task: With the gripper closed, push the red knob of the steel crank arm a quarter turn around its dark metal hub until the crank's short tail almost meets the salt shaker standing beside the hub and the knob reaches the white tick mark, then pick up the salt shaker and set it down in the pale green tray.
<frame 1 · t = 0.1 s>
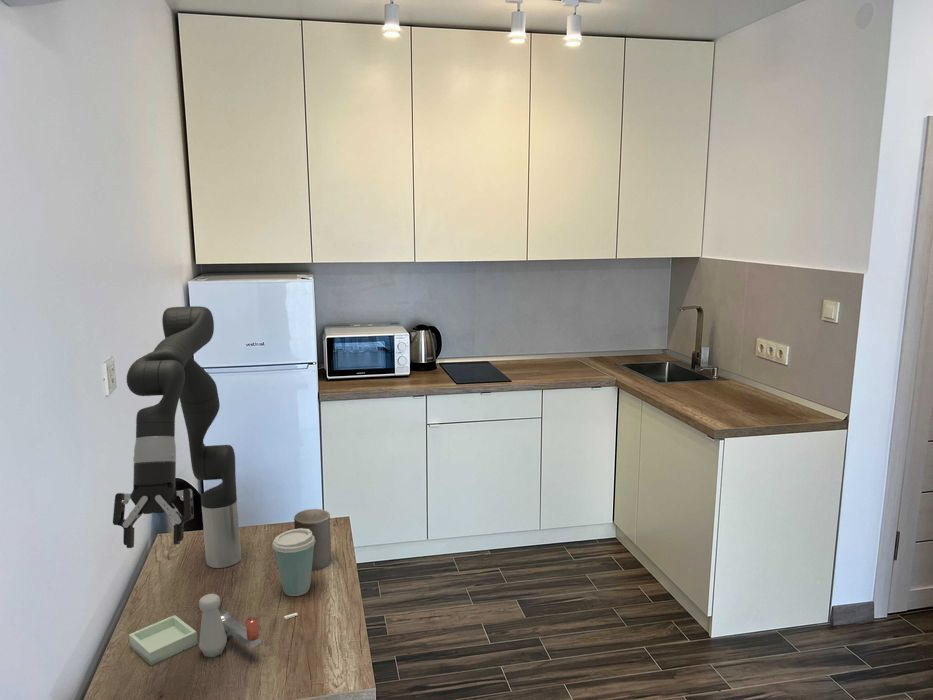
hand: (153, 546, 135), 31 cm above the table, tool tilted 20°, fingers open, 8 cm apart
disposable coffee cup: (296, 590, 179), on the table
tray: (164, 645, 156), on the table
pillar candle: (314, 562, 194), on the table
salt shaker: (213, 652, 154), on the table
crank: (231, 620, 155), point 6 cm above the table, hinge at 0.0°
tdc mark: (291, 617, 167), on the table
crank base: (223, 636, 159), on the table
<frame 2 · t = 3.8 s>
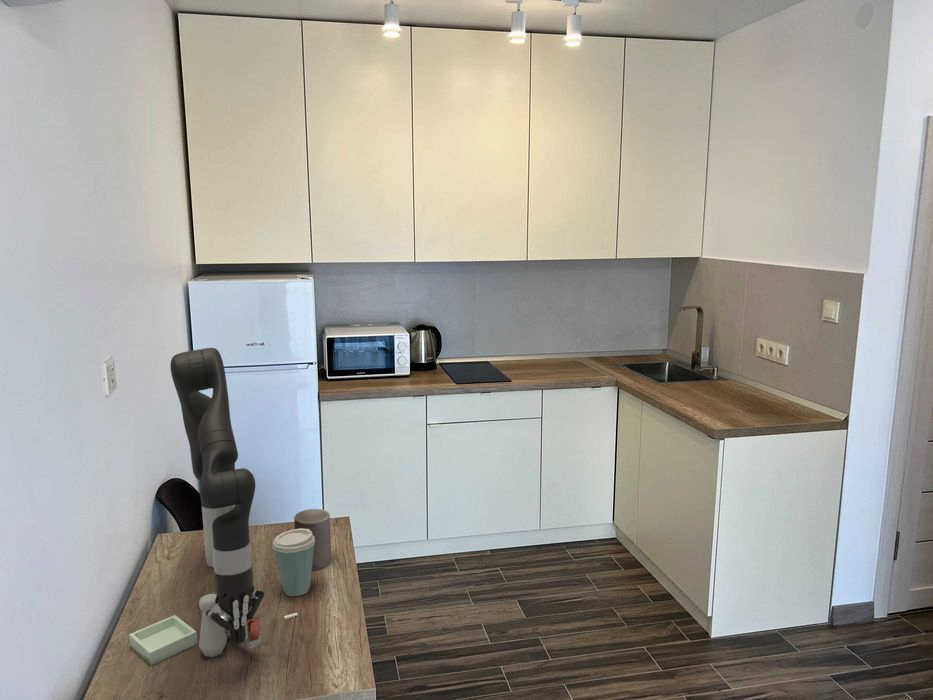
hand: (238, 642, 147), 6 cm above the table, tool pointing down, fingers closed
crank: (231, 620, 155), point 6 cm above the table, hinge at 0.6°, touching gripper
everything else where it was.
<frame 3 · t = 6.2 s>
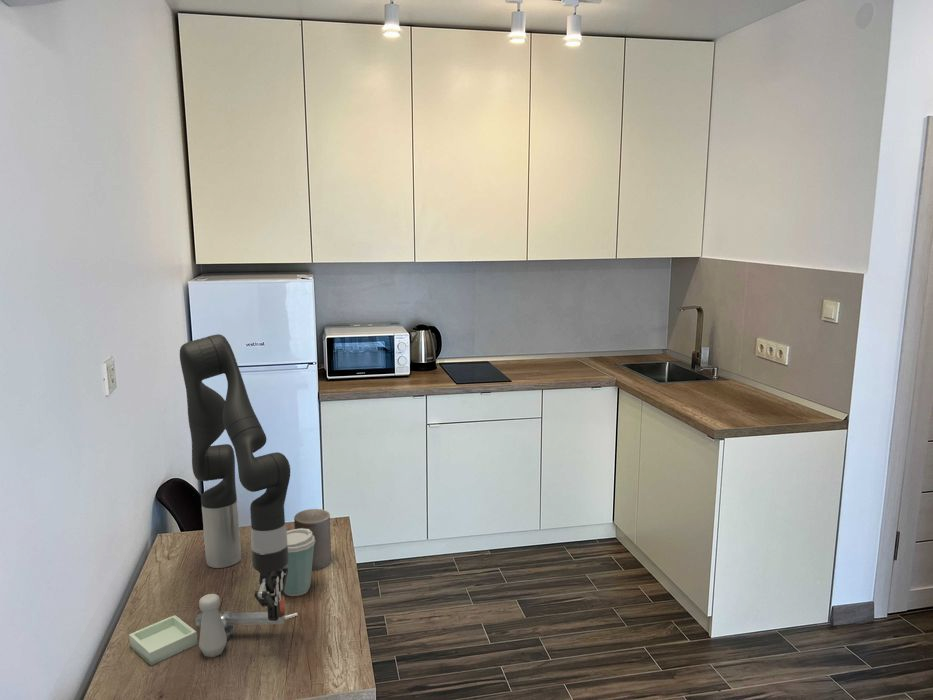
hand: (274, 618, 155), 6 cm above the table, tool pointing down, fingers closed
crank: (241, 612, 158), point 6 cm above the table, hinge at 43.6°, touching gripper
everything else where it was.
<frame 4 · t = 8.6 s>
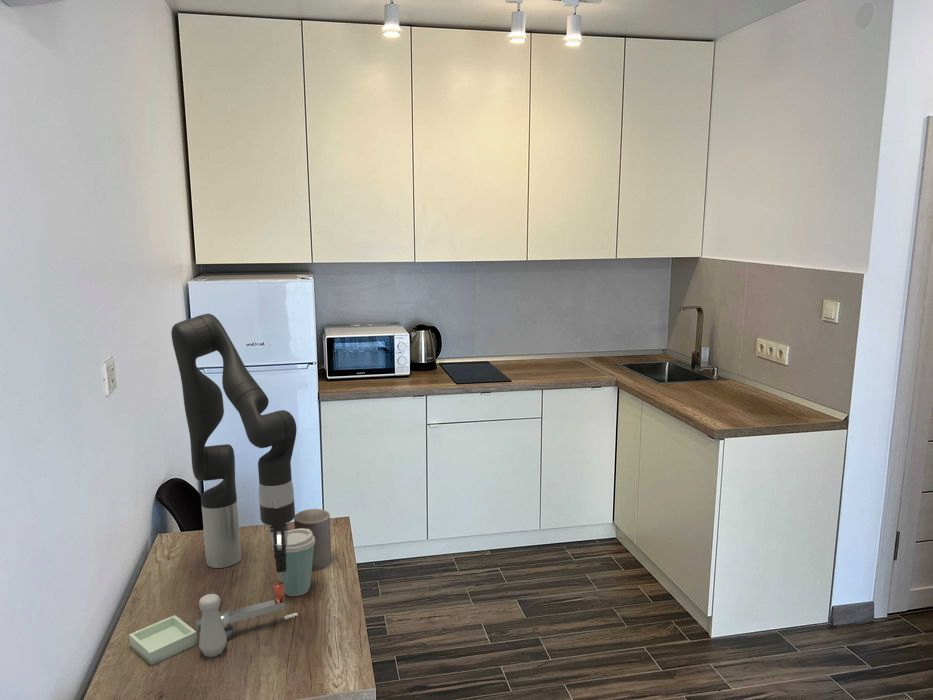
hand: (281, 570, 160), 14 cm above the table, tool pointing down, fingers closed
crank: (241, 608, 160), point 6 cm above the table, hinge at 70.4°
everything else where it was.
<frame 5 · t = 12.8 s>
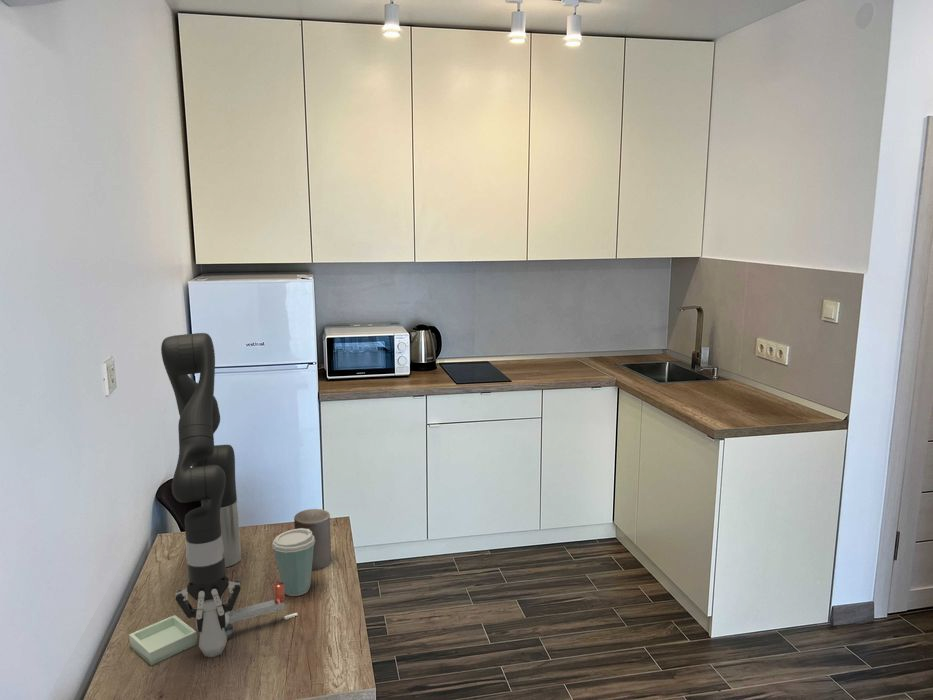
hand: (212, 630, 153), 5 cm above the table, tool pointing down, fingers closed on salt shaker, 3 cm apart
salt shaker: (213, 652, 154), on the table, touching gripper
everything else where it was.
when the fingers open (8 cm above the table, at t = 17.3 s): salt shaker stays where it is, resting on tray.
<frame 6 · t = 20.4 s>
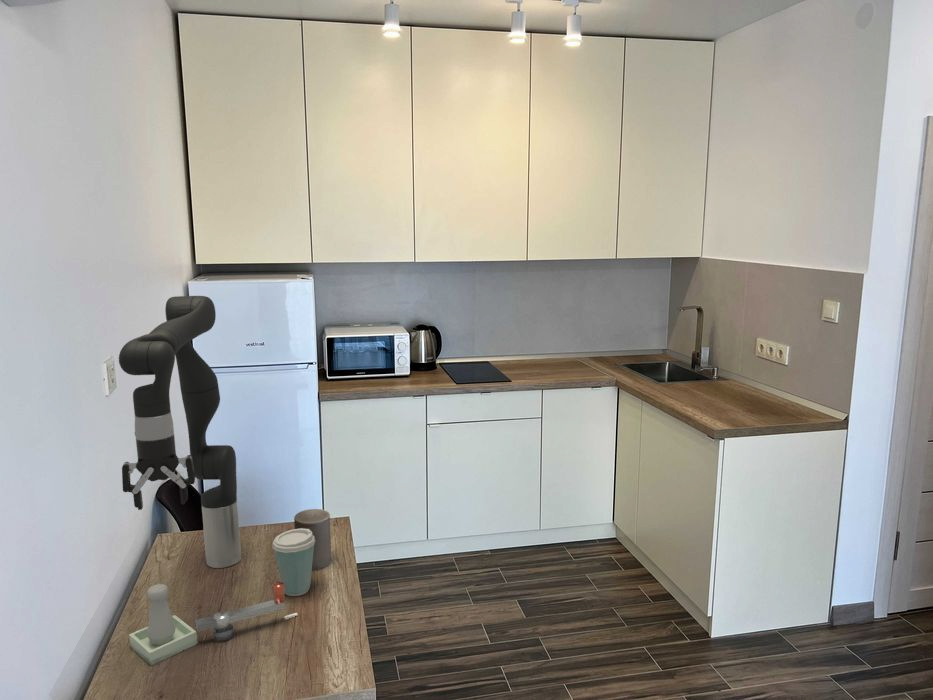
hand: (161, 505, 152), 32 cm above the table, tool pointing down, fingers open, 8 cm apart
salt shaker: (162, 642, 156), point 1 cm above the table, touching tray
everything else where it was.
at the end: crank at +70° (first picture: +0°); salt shaker inside the target area (0.4 cm from its centre), point 0.8 cm above the table; salt shaker tilted 0° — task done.
